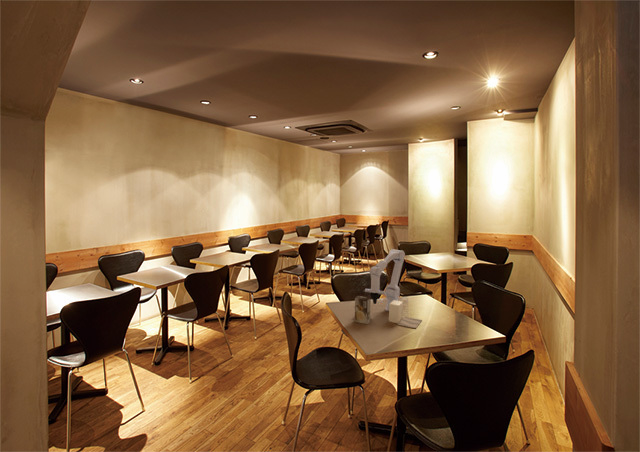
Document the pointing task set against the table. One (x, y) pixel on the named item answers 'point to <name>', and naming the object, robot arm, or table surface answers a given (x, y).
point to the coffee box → (362, 309)
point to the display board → (409, 322)
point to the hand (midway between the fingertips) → (374, 303)
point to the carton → (395, 311)
